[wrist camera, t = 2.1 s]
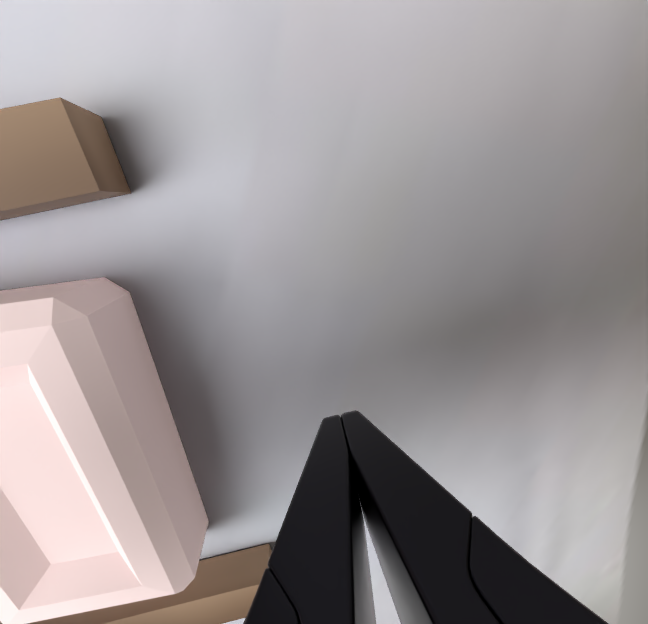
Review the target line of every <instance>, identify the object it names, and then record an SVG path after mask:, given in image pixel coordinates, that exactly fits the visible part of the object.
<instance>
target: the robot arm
mask: <svg viewBox="0 0 648 624" xmlns="http://www.w3.org/2000/svg"><path fill="white" fill-rule="evenodd" d="M359 499H360V500H359ZM360 503H361V504H360ZM361 507H362V509H361ZM362 511H363V514H362ZM363 515H364V519H365V522H366V525H367V528H368V531H369V534H370V537H371V539H372V542H373V545H374V548H375V551H376V554H377V556H378V559H379V562H380V565H381V568H382V571H383V574H384V576H385V579H386V582H387V585H388V588H389V591H390V593H391V596H392V599H393V602H394V605H395V608H396V610H397V613H398V616H399V619H400V622H401V624H608V623H607V622H606V621H604V620H603V619H602V618H600V617H599V616H598V615H596V614H595V613H594V612H593V611H591V610H590V609H589V608H587V607H586V606H585V605H583V604H582V603H581V602H579V601H578V600H577V599H575V598H574V597H573V596H571V595H570V594H569V593H568V592H566V591H565V590H564V589H562V588H561V587H560V586H559V585H557V584H556V583H555V582H553V581H552V580H551V579H550V578H548V577H547V576H546V575H545V574H543V573H542V572H541V571H539V570H538V569H537V568H536V567H534V566H533V565H532V564H530V563H529V562H528V561H527V560H526V559H525V558H523V557H522V556H521V555H520V554H519V553H518V552H516V551H515V550H514V549H513V548H512V547H510V546H509V545H508V544H507V543H506V542H505V541H503V540H502V539H501V538H500V537H499V536H498V535H496V534H495V533H494V532H493V531H492V530H491V529H490V528H489V527H487V526H486V525H485V524H484V523H483V522H482V521H481V520H480V519H479V518H477V517H476V516H473V517H472V513H471V512H470V511H469V510H468V509H467V508H466V507H465V506H464V505H463V504H462V503H460V502H459V501H458V500H457V499H456V498H455V497H454V496H453V495H451V494H450V493H449V492H448V491H447V490H446V489H445V488H444V487H443V486H441V485H440V484H439V483H438V482H437V481H436V480H435V479H434V478H432V477H431V476H430V475H429V474H428V473H427V472H426V471H425V470H423V469H422V468H421V467H420V466H419V465H418V464H417V463H416V462H415V461H413V460H412V459H411V458H410V457H409V456H408V455H407V454H406V453H404V452H403V451H402V450H401V449H400V448H399V447H398V446H397V445H396V444H394V443H393V442H392V441H391V440H390V439H389V438H388V437H387V436H385V435H384V434H383V433H382V432H381V431H380V430H379V429H378V428H377V427H375V426H374V425H373V424H372V423H371V422H370V421H369V420H368V419H366V418H365V417H364V416H363V415H362V414H361V413H360V412H358V411H351V412H347V413H343V414H342V415H341V417H340V416H339V415H334V416H330V417H326V418H324V419H323V420H322V422H321V425H320V427H319V430H318V433H317V435H316V438H315V441H314V443H313V446H312V448H311V451H310V454H309V456H308V459H307V461H306V464H305V467H304V469H303V472H302V474H301V477H300V480H299V482H298V485H297V488H296V490H295V493H294V495H293V498H292V501H291V503H290V506H289V508H288V511H287V514H286V516H285V519H284V521H283V524H282V527H281V529H280V532H279V535H278V537H277V540H276V542H275V545H274V548H273V550H272V553H271V555H270V558H269V561H268V564H267V565H268V568H266V569H265V570H264V573H263V576H262V578H261V581H260V584H259V586H258V589H257V591H256V594H255V597H254V599H253V602H252V604H251V606H250V609H249V611H248V614H247V616H246V619H245V621H244V623H243V624H376V618H375V609H374V601H373V593H372V584H371V576H370V567H369V559H368V551H367V542H366V534H365V526H364V520H363Z"/></svg>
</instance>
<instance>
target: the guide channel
mask: <svg viewBox="0 0 648 624" xmlns="http://www.w3.org/2000/svg"><path fill="white" fill-rule="evenodd" d="M130 193H131V191H130V189H129V186H128V184H127V181H126V179H125V176H124V174H123V171H122V168H121V166H120V163H119V161H118V158H117V156H116V153H115V151H114V148H113V146H112V143H111V140H110V138H109V135H108V133H107V130H106V128H105V125H104V123H103V120H102V118H101V117H100V116H98V115H96V114H94V113H92V112H90V111H88V110H85V109H83V108H81V107H79V106H77V105H75V104H73V103H70V102H68V101H66V100H64V99H62V98H55V99H50V100H45V101H40V102H35V103H29V104H24V105H19V106H14V107H9V108H4V109H0V220H4V219H9V218H14V217H19V216H24V215H29V214H33V213H38V212H43V211H48V210H53V209H58V208H62V207H67V206H72V205H77V204H82V203H87V202H92V201H96V200H101V199H106V198H111V197H116V196H121V195H125V194H130ZM271 553H272V550H271V548H270V545H269V544H265V545H261V546H257V547H253V548H249V549H245V550H241V551H237V552H233V553H229V554H225V555H221V556H217V557H213V558H209V559H205V560H201V561H199V563H198V567H197V571H196V575H195V578H194V579H193V581H192V582H191V583H190V584H189V585H188V586H187V587H186V588H185V589H184V590H183V591H181V592H179V593H176V594H172V595H167V596H162V597H157V598H152V599H147V600H142V601H137V602H132V603H127V604H122V605H117V606H112V607H107V608H102V609H97V610H92V611H87V612H82V613H77V614H72V615H67V616H62V617H57V618H52V619H47V620H42V621H37V622H32V623H27V624H222V623H226V622H230V621H234V620H238V619H242V618H245V617H246V616H247V614H248V611H249V609H250V606H251V604H252V602H253V599H254V597H255V594H256V591H257V589H258V586H259V584H260V581H261V578H262V576H263V573H264V570H265V569H266V568H268V565H267V564H268V561H269V558H270V555H271ZM0 624H2V623H1V621H0Z"/></svg>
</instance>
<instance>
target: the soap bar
mask: <svg viewBox="0 0 648 624" xmlns="http://www.w3.org/2000/svg"><path fill="white" fill-rule="evenodd" d="M208 523H209V520H208V517H207V514H206V511H205V509H204V506H203V503H202V500H201V497H200V494H199V491H198V488H197V485H196V483H195V480H194V477H193V474H192V471H191V468H190V465H189V462H188V459H187V457H186V454H185V451H184V448H183V445H182V442H181V439H180V436H179V433H178V431H177V428H176V425H175V422H174V419H173V416H172V413H171V410H170V407H169V405H168V402H167V399H166V396H165V393H164V390H163V387H162V384H161V381H160V379H159V376H158V373H157V370H156V367H155V364H154V361H153V358H152V355H151V353H150V350H149V347H148V344H147V341H146V338H145V335H144V332H143V329H142V327H141V324H140V321H139V318H138V315H137V312H136V309H135V306H134V303H133V301H132V298H131V295H130V292H129V291H127V290H125V289H124V288H122V287H120V286H119V285H117V284H115V283H114V282H112V281H110V280H109V279H107V278H105V277H100V278H93V279H85V280H77V281H69V282H62V283H54V284H46V285H39V286H31V287H23V288H16V289H8V290H0V621H1V623H2V624H27V623H32V622H37V621H42V620H47V619H52V618H57V617H62V616H67V615H72V614H77V613H82V612H87V611H92V610H97V609H102V608H107V607H112V606H117V605H122V604H127V603H132V602H137V601H142V600H147V599H152V598H157V597H162V596H167V595H172V594H176V593H179V592H181V591H183V590H184V589H185V588H186V587H187V586H188V585H189V584H190V583H191V582H192V581H193V579H194V578H195V575H196V571H197V567H198V563H199V559H200V555H201V551H202V547H203V543H204V539H205V535H206V531H207V527H208Z"/></svg>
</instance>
